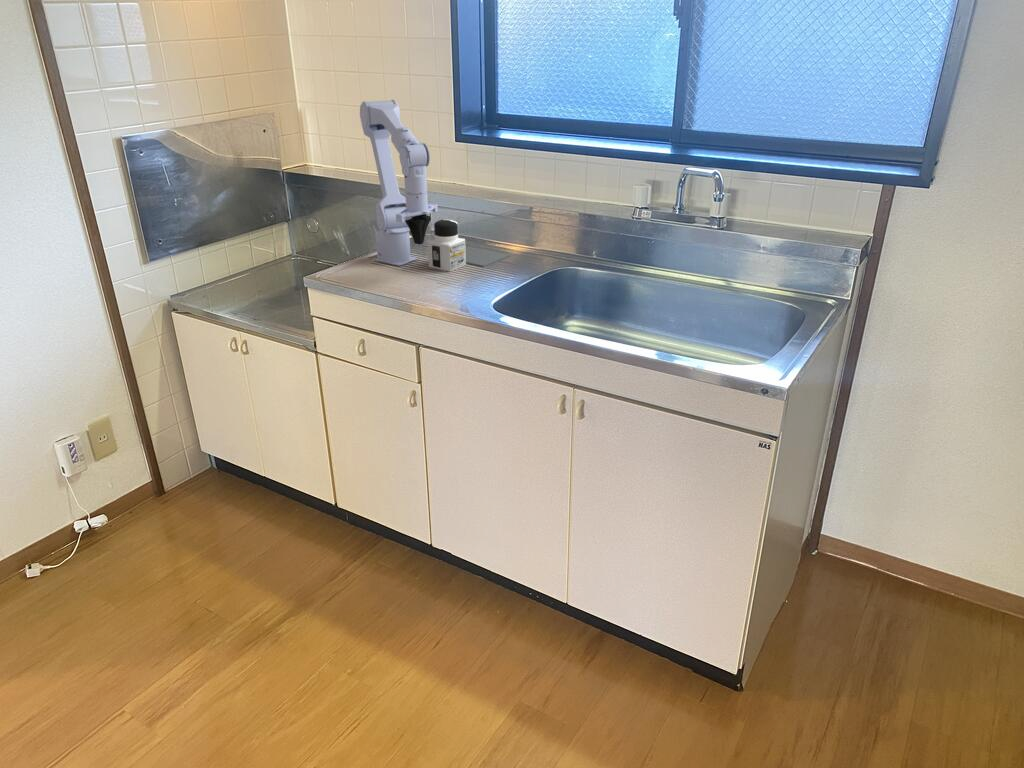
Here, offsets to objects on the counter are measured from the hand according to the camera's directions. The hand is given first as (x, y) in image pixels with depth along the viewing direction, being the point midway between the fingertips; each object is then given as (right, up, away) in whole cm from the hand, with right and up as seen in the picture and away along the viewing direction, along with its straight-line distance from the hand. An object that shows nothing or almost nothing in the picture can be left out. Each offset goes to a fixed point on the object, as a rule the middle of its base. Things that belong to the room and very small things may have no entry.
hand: (418, 243), depth 207 cm
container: (+7, -4, +13) cm, 15 cm away
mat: (+13, 0, +22) cm, 25 cm away
